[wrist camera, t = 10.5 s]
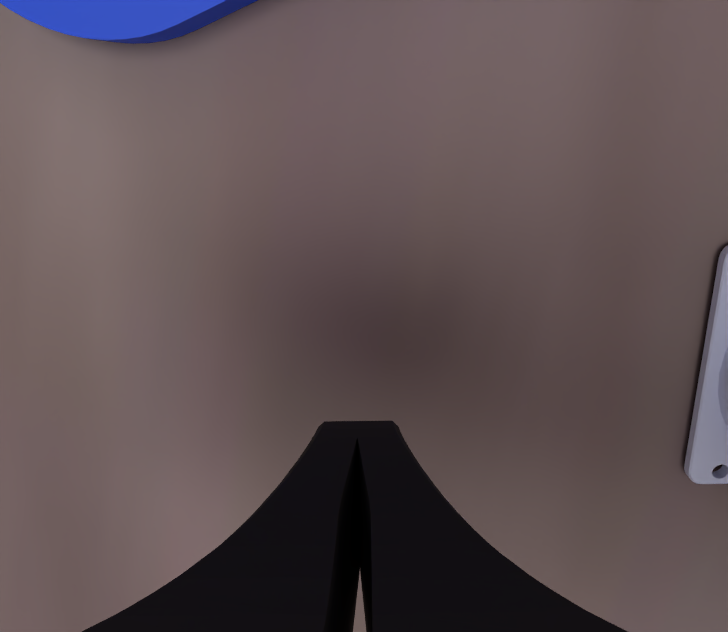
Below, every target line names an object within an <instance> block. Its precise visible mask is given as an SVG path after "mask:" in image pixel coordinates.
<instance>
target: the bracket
mask: <svg viewBox="0 0 728 632" xmlns="http://www.w3.org/2000/svg"><path fill="white" fill-rule="evenodd" d="M255 1H257V0H0V3H1V4H3V5H4V6H6V7H7V8H8V9H10V10H12V11H13V12H15V13H17V14H19V15H20V16H22V17H24V18H26V19H28V20H30V21H32V22H34V23H37V24H39V25H41V26H43V27H46V28H48V29H51V30H54V31H58V32H61V33H64V34H67V35H72V36H77V37H82V38H88V39H95V40H103V41H110V42H120V43H131V44H134V43H153V42H159V41H166V40H169V39H173V38H177V37H180V36H183V35H186V34H188V33H190V32H193V31H195V30H198V29H200V28H202V27H204V26H206V25H208V24H210V23H212V22H214V21H216V20H218V19H220V18H222V17H224V16H226V15H228V14H230V13H232V12H235V11H237V10H239V9H241V8H243V7H245V6H247V5H249V4H251V3H253V2H255Z"/></svg>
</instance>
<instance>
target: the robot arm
mask: <svg viewBox="0 0 728 632" xmlns="http://www.w3.org/2000/svg"><path fill="white" fill-rule="evenodd" d="M721 464H723V465H722V467H721V468H720V469H719V470H718V471H714V472H712V471H713V469H714V468H715V467H716V466H717V465H721ZM684 470H685V473H686V474H687V476H688V477H689V478H690V479H691V481H693V482H695V483H697V484H728V245H727V246H726V247H725V248H724V249H723V250H722V251H721V253H720V256H719V260H718V266H717V272H716V278H715V284H714V290H713V296H712V302H711V308H710V314H709V320H708V326H707V332H706V338H705V344H704V350H703V356H702V362H701V368H700V374H699V380H698V386H697V392H696V398H695V404H694V410H693V416H692V423H691V429H690V435H689V441H688V447H687V453H686V459H685V465H684ZM359 571H361V582H362V592H363V602H364V611H365V621H366V631H367V632H627V631H625V630H623V629H621V628H619V627H617V626H615V625H613V624H611V623H609V622H607V621H605V620H603V619H602V618H600V617H598V616H596V615H594V614H592V613H590V612H588V611H586V610H584V609H582V608H581V607H579V606H577V605H576V604H574V603H572V602H571V601H569V600H567V599H566V598H564V597H562V596H561V595H559V594H558V593H556V592H554V591H553V590H551V589H549V588H548V587H546V586H545V585H543V584H542V583H540V582H539V581H537V580H536V579H534V578H533V577H531V576H530V575H529V574H527V573H526V572H525V571H523V570H522V569H521V568H519V567H518V566H517V565H515V564H514V563H513V562H511V561H510V560H509V559H507V558H506V557H505V556H503V555H502V554H501V553H499V552H498V551H497V550H496V549H495V548H493V547H492V546H491V545H490V544H489V543H488V542H487V541H486V540H484V539H483V538H482V537H481V536H480V535H479V534H478V533H477V532H476V531H475V530H474V529H473V528H472V527H471V526H470V525H469V524H468V523H467V522H466V521H465V520H464V519H463V518H462V517H461V516H460V515H459V514H458V513H457V511H456V510H455V509H454V508H453V507H452V506H451V504H450V503H449V502H448V501H447V500H446V499H445V498H444V496H443V495H442V494H441V493H440V491H439V490H438V489H437V488H436V486H435V485H434V484H433V482H432V481H431V480H430V478H429V477H428V476H427V474H426V473H425V471H424V470H423V469H422V467H421V466H420V464H419V463H418V461H417V460H416V458H415V457H414V455H413V454H412V452H411V450H410V449H409V447H408V445H407V444H406V442H405V440H404V438H403V436H402V434H401V432H400V430H399V427H398V426H397V425H396V424H395V423H394V422H393V421H331V422H324V423H323V424H321V425H320V426H319V427H318V429H317V431H316V433H315V435H314V436H313V438H312V440H311V441H310V443H309V444H308V446H307V448H306V449H305V450H304V452H303V453H302V455H301V456H300V458H299V459H298V461H297V462H296V463H295V465H294V466H293V467H292V469H291V470H290V471H289V472H288V474H287V475H286V476H285V478H284V479H283V480H282V482H281V483H280V484H279V485H278V487H277V488H276V489H275V490H274V491H273V492H272V493H271V494H270V496H269V497H268V498H267V499H266V500H265V501H264V502H263V504H262V505H261V506H260V507H259V508H258V509H257V510H256V511H255V512H254V513H253V514H252V516H251V517H250V518H249V519H248V520H247V521H246V522H245V523H244V524H243V525H241V526H240V527H239V528H238V529H237V530H236V531H235V532H234V533H233V534H232V535H231V536H230V537H229V538H227V539H226V540H225V541H224V542H223V543H222V544H221V545H220V546H218V547H217V548H216V549H215V550H213V551H212V552H211V553H209V554H208V555H207V556H205V557H204V558H203V559H201V560H200V561H199V562H197V563H196V564H195V565H193V566H192V567H191V568H189V569H188V570H187V571H185V572H184V573H183V574H181V575H180V576H178V577H177V578H175V579H174V580H172V581H171V582H169V583H168V584H166V585H165V586H163V587H161V588H160V589H158V590H157V591H155V592H154V593H152V594H150V595H149V596H147V597H145V598H144V599H142V600H140V601H139V602H137V603H135V604H133V605H132V606H130V607H128V608H127V609H125V610H123V611H121V612H119V613H118V614H116V615H114V616H112V617H110V618H108V619H106V620H104V621H102V622H100V623H98V624H96V625H94V626H92V627H90V628H88V629H86V630H84V631H82V632H353V625H354V616H355V607H356V598H357V589H358V580H359Z"/></svg>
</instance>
